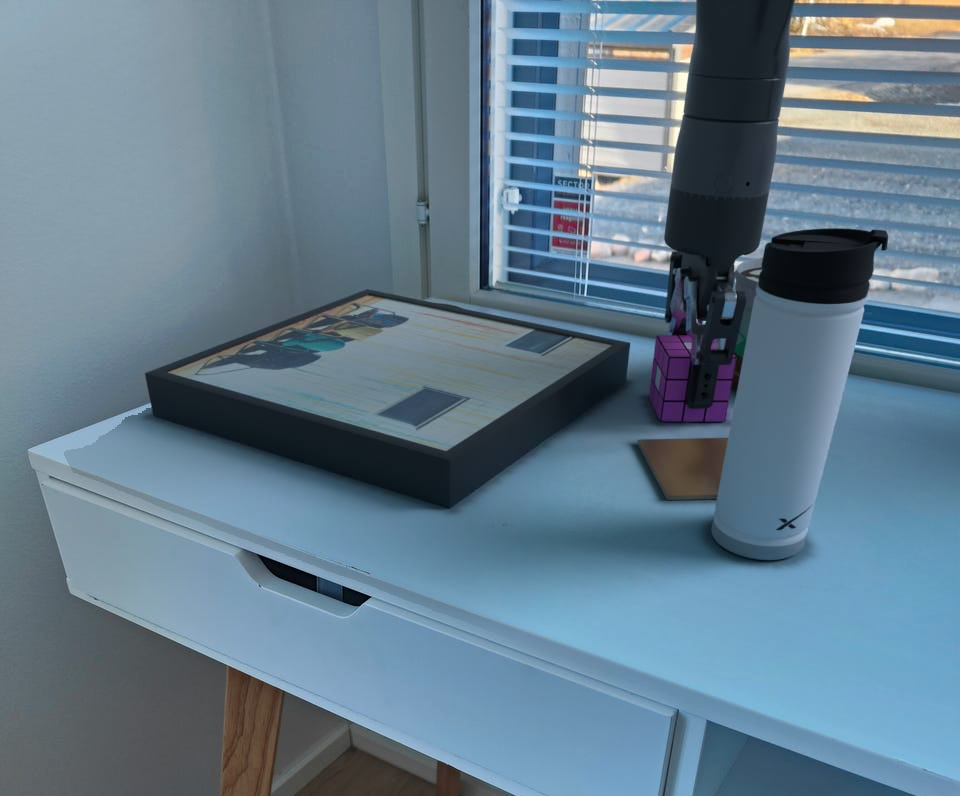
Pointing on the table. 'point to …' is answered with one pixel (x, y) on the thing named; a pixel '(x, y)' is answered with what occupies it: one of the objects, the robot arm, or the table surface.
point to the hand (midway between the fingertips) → (688, 392)
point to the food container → (746, 282)
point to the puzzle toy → (684, 382)
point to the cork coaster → (686, 466)
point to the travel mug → (791, 386)
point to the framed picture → (394, 390)
